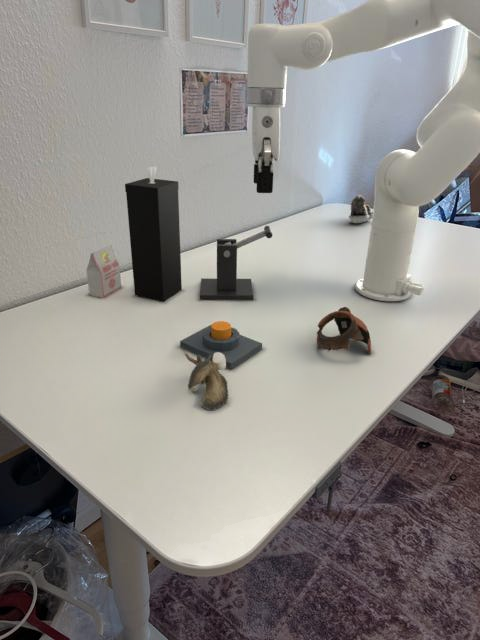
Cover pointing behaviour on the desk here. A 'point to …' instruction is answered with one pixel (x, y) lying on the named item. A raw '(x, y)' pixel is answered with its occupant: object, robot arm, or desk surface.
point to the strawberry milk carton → (103, 273)
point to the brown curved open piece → (343, 331)
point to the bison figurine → (360, 210)
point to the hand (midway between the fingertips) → (262, 187)
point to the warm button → (221, 330)
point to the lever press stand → (226, 277)
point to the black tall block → (154, 236)
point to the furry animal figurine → (210, 380)
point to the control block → (222, 346)
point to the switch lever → (254, 237)
